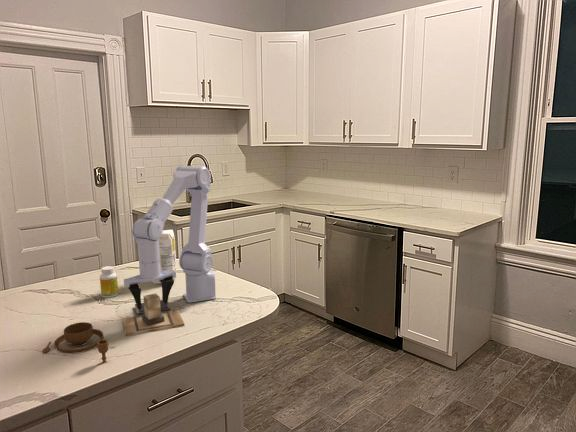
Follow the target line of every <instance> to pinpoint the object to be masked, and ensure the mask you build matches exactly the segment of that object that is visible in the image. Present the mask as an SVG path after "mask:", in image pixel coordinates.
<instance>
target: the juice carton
mask: <svg viewBox="0 0 576 432" xmlns="http://www.w3.org/2000/svg"><path fill="white" fill-rule="evenodd" d="M176 254H177V252H176V238H175V233H174V230H173V229H166V230H164V229H163V233H162V236H161V237H160V238H159V255H160V270H161V271H167V270H175V271H176V272H177V255H176ZM175 279H176V278H173V280H174V281H175ZM151 283H152V284H154V285H157V284H160V285H161V280H157V281H152V282H151Z"/></svg>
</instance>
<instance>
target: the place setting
mask: <svg viewBox="0 0 576 432" xmlns="http://www.w3.org/2000/svg"><path fill="white" fill-rule="evenodd" d="M93 327H94V326H93V324H92V323H91V322H87V321H86V322H85V321H84V322H75V323H71V324H69V325H67V326H66V327H65V328H64V329H63V334H62V335H60V336H58V337H57V338H56V339H55V340H54V342H53V343H54V344H53V345H54V348H55V350H57V352H60V353H63V354H79V353H84V352H87V351H89V350H92V349H94V348H97V351H98V352H99V354H101V355H102V356H101V360H102V362H101V364H107V363H108V361H107V356H106V353H108V350H109V349H111V348H112V349H113V348H115V346H109V340H108V339H104V333H103V331H102V330H100V329H95V328H93ZM93 335H94V336H97V337H99V339H98V341H95V342H94V343H92V344H89V345H87V346H84V347H81V346H83V345H86V344H87V343H88V342H89V341H90V340H91V339H92V338H93ZM64 341H65V342H66V343H67V344H69V345H72V346H74V347H77V348H62V347H60V344H62V343H63V342H64ZM51 344H52V341H48V344H47V345H46V347H44V348H43V349H42V350H41V351H42V353H43V354H47V353H49V352H50V351H51V347H50V346H51ZM78 347H79V348H78Z"/></svg>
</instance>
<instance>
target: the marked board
mask: <svg viewBox="0 0 576 432" xmlns="http://www.w3.org/2000/svg"><path fill="white" fill-rule="evenodd" d="M161 314H162V315H163V316H164V320H165V322H161V323H157V324H153V325H149V326H147V325H146V324H145V323H144V321H143V320H142V315H140V316H137V315H134V316H129V317H127V316H126V317H123V318H122V320H123V325H124V332H125V337H127V336H132V335H140V334H145V333H149V332H155V331H162V330H166V329H167V330H168V329H173V328H178V327H185V322H184V320H183V318H182V316H181V313H180V311H179V309H172V310H171V311H165V312H161Z"/></svg>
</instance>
